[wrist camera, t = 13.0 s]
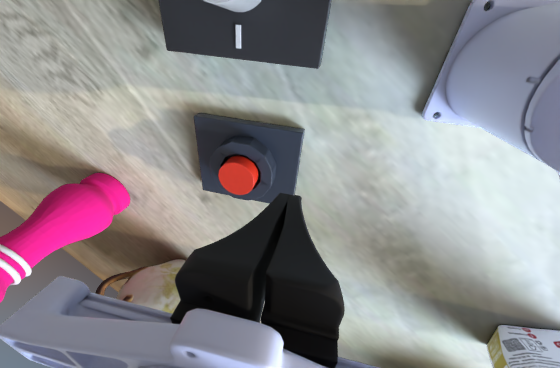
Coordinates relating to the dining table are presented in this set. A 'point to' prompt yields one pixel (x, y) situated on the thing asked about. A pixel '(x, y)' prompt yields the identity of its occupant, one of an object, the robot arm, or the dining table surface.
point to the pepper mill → (60, 224)
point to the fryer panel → (249, 30)
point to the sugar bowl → (149, 286)
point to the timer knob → (235, 4)
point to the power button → (238, 175)
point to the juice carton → (524, 348)
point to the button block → (249, 154)
